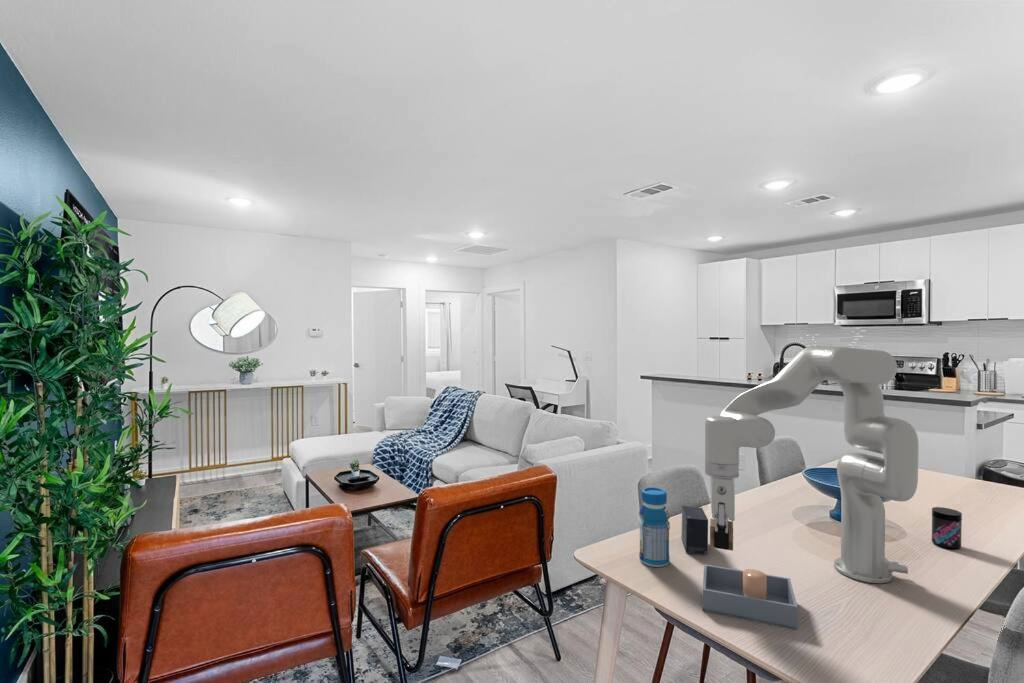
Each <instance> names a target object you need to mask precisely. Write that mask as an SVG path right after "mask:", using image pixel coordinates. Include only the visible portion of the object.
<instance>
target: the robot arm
mask: <svg viewBox="0 0 1024 683" xmlns="http://www.w3.org/2000/svg"><path fill="white" fill-rule="evenodd" d="M897 371H898V363H897V361H896V359H895V357H894V356H893V355H892V354H891V353H889V352H888V351H885V350H880V349H866V348H865V349H864V348H856V347H855V348H854V347H847V346H837V345H836V346H832V345H831V346H830V345H829V346H828V345H811V346H807V347H805V348H803V349H802V350H800V351H799V352H797V354H796V355H795V356H794V357H793V358H792V359H791V360H790V361H788V363H787V364H786V365H785V366H784V367H783V368H782V369H781V370H780V371H779V372H778V373H777V374H776V375H775V376H774V377H773V378H772V379H771V380H769V381H766V382H764V383H762V384H759V385H757V386H755V387H753V388H751V389H748V390H747V391H745V392H743V393H740V394H739V395H738V396H736V397H735V398H734V399H733V400H732V401H731V402H730V403H728V404H727V406H725V408H724V409H723V410H722V411H721V412H720V414H719V415H712V416H711V415H710V416H709V417H707V418H706V419H705V423H704V474H705V475H706V476H709V478H710V479H709V480H710V481H709V483H710V484H709V485H710V487H709V489H710V492H709V495H710V506H711V508H710V509H711V515H712V519H715V530H714V547H715V548H714V549H719V550H720V549H721V550H727V551H729V550H728V549H729V532H728V521H731V522H733V523H734V521H736V520H735V518H736V517H735V510H736V508H735V505H736V504H735V502H736V500H735V498H736V496H735V495H736V494H735V493H736V491H735V490H736V489H735V486H736V485H735V484H736V483H735V479H737V478H739V477H740V448H743V447H744V448H752V449H753V448H754V449H761V448H765V447H767V446H769V445H770V444H771V443H772V442H773V441H774V439H775V437H776V429H775V427H774V424H773V423H771V421H769V420H768V419H767V418H764V417H762V416H760V415H761V414H764V413H767V412H770V411H774V410H775V411H777V410H783V409H788V408H789V409H790V408H791V407H797V406H799V405H801V404H802V403H803V402H804V401H805V400H806V399H807V398H808V397H809V396H810V395H811V393H813V391H815V389H816V388H818V387H819V386H820V385H821V384H822V383H823V382H825V381H830V382H831V381H832V382H836V383H837V385H838V386H839V387H840V389H841V391H842V393H843V402H844V403H843V404H844V414H843V415H844V418H843V419H844V423H843V424H844V425H843V427H844V429H843V431H844V439H845V442H847V443H848V444H849V445H850V446H852V447H854V448H857V449H861V450H864V451H869V452H872V453H877V454H881V455H883V458H882V457H881V456H880V457H879V456H875V455H871V454H867V453H863V452H847V453H845V454H843V455H842V456H841V457H840V458H839V460H838V462H837V465H836V474H837V479H838V483H839V488H840V498H841V501H840V502H841V504H840V507H841V510H840V518H841V519H840V557H838V558H836V559H834V561H833V566H834V568H835V569H836V571H838V572H839V573H840V574H842V575H844V576H846V577H848V578H851V579H854V580H857V581H859V582H865V583H869V584H870V583H871V584H886V583H889V582H891V581H892V580H893V572H896V573H899V574H907V575H908V573H909V568H908V566H907V565H903V564H899V562H898V561H895V560H888V559H886V545H885V544H886V509H885V505H884V502H883V500H882V498H884V499H888V500H891V501H894V502H901V503H902V502H907V501H909V500H911V499H912V498H913V497H914V495H915V494H916V492H917V489H918V481H919V437H918V434H917V432H916V429H915V427H914V426H913V425H912V424H911V423H910V422H907V421H906V420H903V419H901V418H897V417H888V416H886V415H885V406H884V395H883V390H882V389H881V387H880V386H881V385H886V384H888V383H890V382H891V381H892V380H893V379H895V376H896V374H897ZM881 497H882V498H881ZM718 521H719V523H718ZM724 522H725V524H724Z"/></svg>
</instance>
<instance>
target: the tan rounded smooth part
mask: <svg viewBox="0 0 1024 683" xmlns="http://www.w3.org/2000/svg"><path fill="white" fill-rule="evenodd" d="M742 571H743V596H748V597H753V598H759V599H764V600H767V576H766V575H767V574H766V573H764V572H763V571H761V570H758V569H753V568H749V569H744V570H742ZM765 574H766V575H765Z"/></svg>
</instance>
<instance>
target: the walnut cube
mask: <svg viewBox="0 0 1024 683" xmlns="http://www.w3.org/2000/svg"><path fill="white" fill-rule="evenodd" d="M718 523H719V521H718ZM724 524H725V522H724ZM714 530H715V519H714V518H710V523H709V548H713V549H716V548H715V547H714ZM728 532H729V549H728V550H727V551H734V521H733V522H732V520H728Z"/></svg>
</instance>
